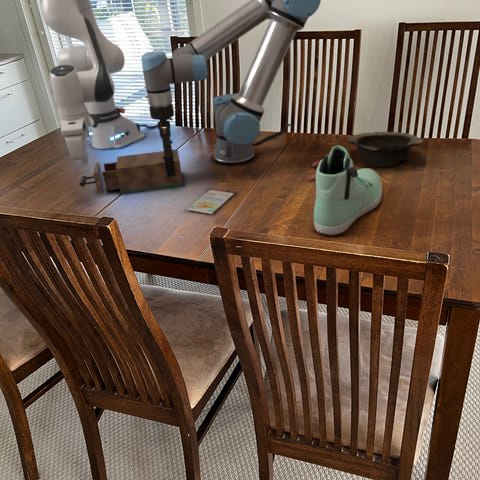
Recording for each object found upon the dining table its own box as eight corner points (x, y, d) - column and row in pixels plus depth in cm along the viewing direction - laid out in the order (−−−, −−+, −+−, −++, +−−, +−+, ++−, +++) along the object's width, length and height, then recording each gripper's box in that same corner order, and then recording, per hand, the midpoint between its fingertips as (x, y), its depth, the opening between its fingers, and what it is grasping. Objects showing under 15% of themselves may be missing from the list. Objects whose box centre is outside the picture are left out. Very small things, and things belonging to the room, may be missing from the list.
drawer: (81, 195, 157) (76, 176, 153) (84, 184, 165) (79, 164, 161) (156, 186, 160) (153, 166, 156) (155, 174, 168) (152, 155, 164)
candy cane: (296, 178, 159) (296, 174, 158) (317, 162, 169) (317, 158, 168) (312, 182, 156) (312, 178, 155) (333, 165, 166) (333, 161, 165)
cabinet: (121, 194, 158) (115, 168, 154) (122, 181, 167) (117, 156, 163) (183, 185, 160) (179, 160, 156) (181, 173, 170) (177, 149, 165)
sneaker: (389, 187, 148) (396, 123, 138) (356, 242, 123) (361, 168, 112) (346, 181, 154) (350, 119, 144) (306, 232, 129) (307, 161, 118)
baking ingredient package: (185, 208, 144) (210, 188, 156) (186, 209, 145) (210, 190, 156) (211, 213, 141) (234, 192, 152) (211, 214, 141) (234, 193, 152)
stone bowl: (380, 178, 154) (381, 150, 149) (333, 160, 174) (332, 135, 170) (437, 159, 162) (439, 132, 158) (385, 144, 183) (386, 120, 178)
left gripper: (69, 113, 157) (79, 152, 165) (60, 132, 140) (71, 176, 147) (88, 110, 158) (98, 150, 165) (82, 130, 141) (92, 173, 148)
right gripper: (148, 96, 160) (158, 158, 172) (149, 116, 141) (160, 184, 152) (170, 94, 161) (179, 155, 173) (174, 113, 142) (184, 181, 153)
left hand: (85, 162), depth 156 cm, fingers closed
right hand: (170, 169), depth 162 cm, fingers closed on cabinet, 11 cm apart
